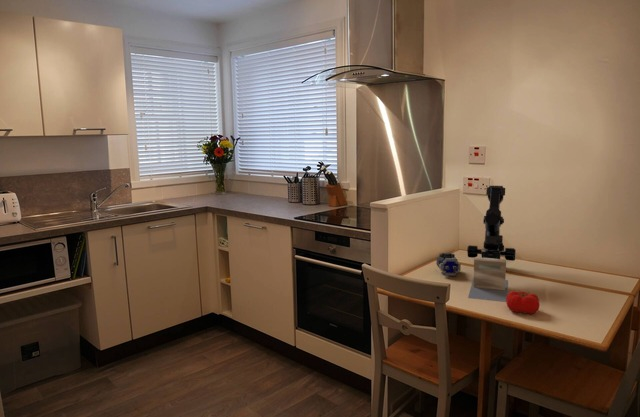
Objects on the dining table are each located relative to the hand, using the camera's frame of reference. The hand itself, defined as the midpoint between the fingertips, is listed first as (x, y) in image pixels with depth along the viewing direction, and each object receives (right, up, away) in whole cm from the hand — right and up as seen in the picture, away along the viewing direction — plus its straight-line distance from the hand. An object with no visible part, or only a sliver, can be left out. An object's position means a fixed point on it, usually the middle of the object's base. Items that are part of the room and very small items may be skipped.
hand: (489, 270), depth 191 cm
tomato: (+3, -11, -24) cm, 27 cm away
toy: (-11, -5, +21) cm, 24 cm away
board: (0, -7, 0) cm, 7 cm away
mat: (-1, -8, -1) cm, 8 cm away
